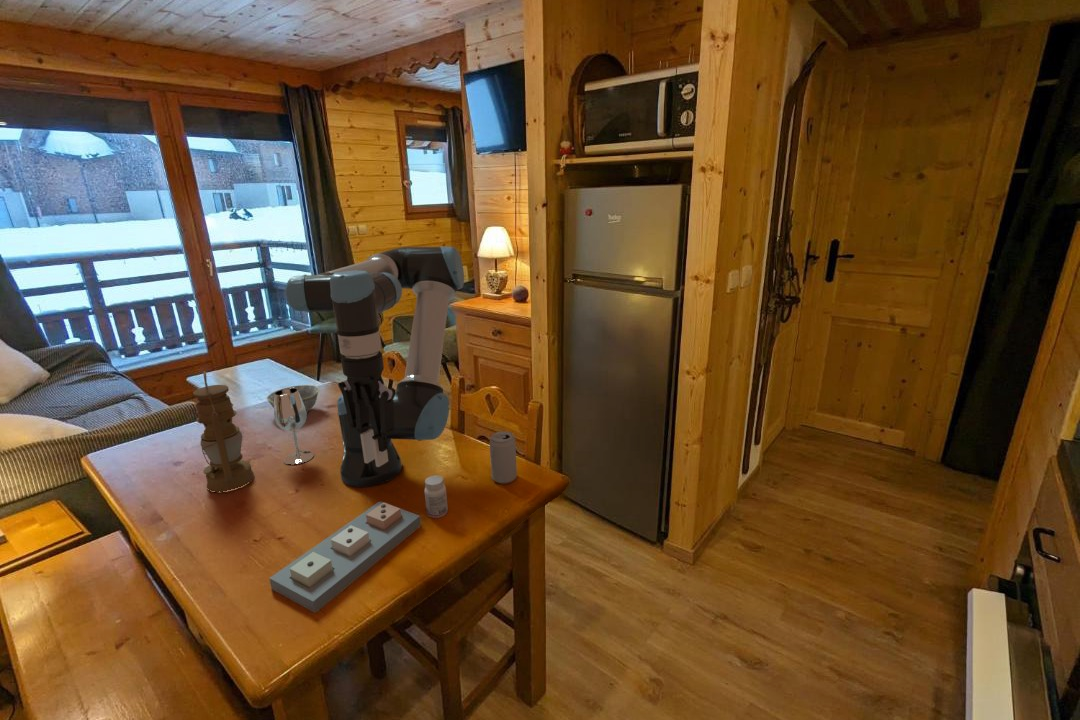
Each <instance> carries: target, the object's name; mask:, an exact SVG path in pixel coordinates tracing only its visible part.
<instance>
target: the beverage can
mask: <svg viewBox="0 0 1080 720" xmlns="http://www.w3.org/2000/svg"><path fill="white" fill-rule="evenodd" d="M514 436H515V435H514V433H513V432H510V431H505V430H504V431H496V432H494V433H492V434H491V436H490V439H489V451H490V452H489V453H490V454H489V455H490V469H491V479H492V480H493V481H494V482H496V483H498V484H501V485H502V484H503V485H504V484H510V483H512V482H514V480H515V479H516V478H517V476H518V469H517V447H516V438H515V437H514Z"/></svg>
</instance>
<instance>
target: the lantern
mask: <svg viewBox="0 0 1080 720" xmlns="http://www.w3.org/2000/svg"><path fill="white" fill-rule="evenodd" d="M202 373H203V374H202V375H203V379H204V386H203V387H200V388H197V389H195V390H194V391H193V392H192V393H193V397H194V398H196V399H197V401H196V409H197V410H196V411H195V412H196V414H197V415H198V417H197V418H196V422H197V423H198V424H201V425H203V426H204V430H203V433H202V434H200V447H201V452H202V454H203V456H204V459H205V460H206V463H207V464H208V465H207V466H206V467H205V468H204V469H203V474H205V478H206V489H207V488H208V489H209V490H211V491H215V492H219V491H220V492H223V491H227V490H231V489H235V488H238V487H241V486H243V485H245V484H247V483H248V482H250V481H251V480H252V479H253V480H254V478H255V473H254V471H253V470H252V466H251V462H249V461H247V460H243V457H244V456H243V453H241V452H242V445H243V434H242V433H243V432H241V430H240V427H239V426H237V425H236V424H234V423H233V418H234V417H235V416H236V415H237V414H238V413H237V410H234V404H233V403H232V401H231V398H230V396H229V395H228V394H227V393H228V392H229V390H230V389H229V386H228V385H227V384H212V385H208V383H207V380H208V379H207V371H205V370H203V372H202ZM206 456H207V457H206ZM207 458H208V459H209V461H208V460H207ZM253 477H254V478H253ZM208 489H207V490H208Z"/></svg>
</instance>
